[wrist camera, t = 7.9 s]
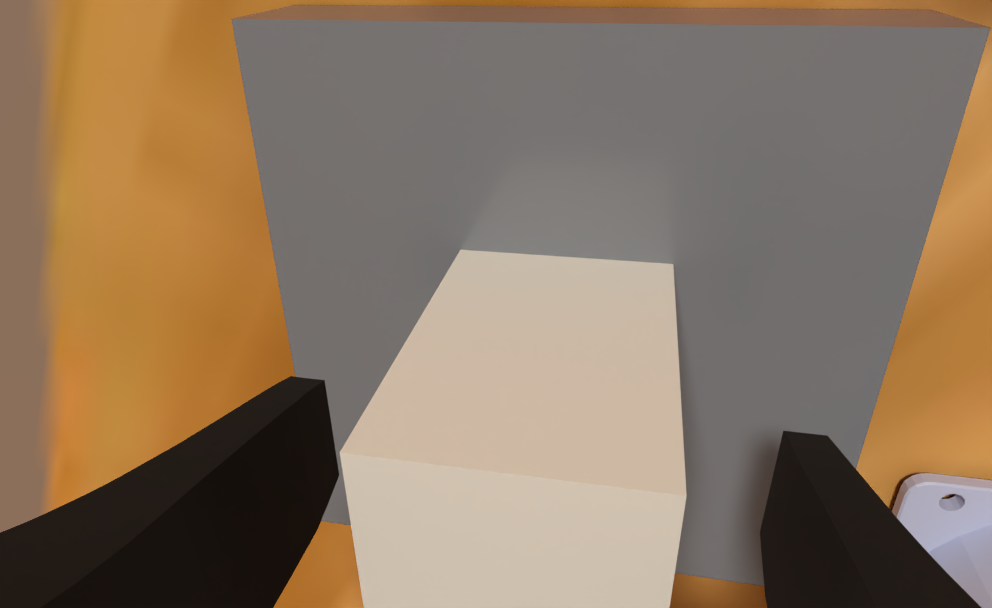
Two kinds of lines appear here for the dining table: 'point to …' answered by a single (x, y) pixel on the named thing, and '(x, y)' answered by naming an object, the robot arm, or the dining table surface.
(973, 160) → the dining table surface
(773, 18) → the tile
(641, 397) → the block
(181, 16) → the dining table surface
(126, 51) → the dining table surface
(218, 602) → the robot arm
